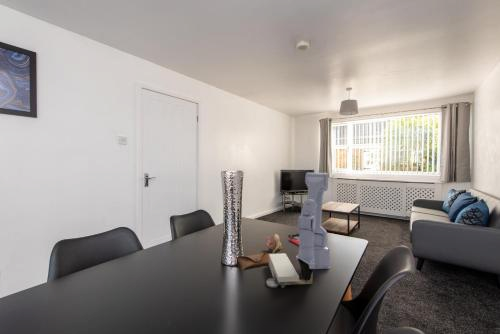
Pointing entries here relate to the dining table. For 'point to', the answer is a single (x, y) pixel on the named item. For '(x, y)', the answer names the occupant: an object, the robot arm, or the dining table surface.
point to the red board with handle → (295, 239)
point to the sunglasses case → (253, 261)
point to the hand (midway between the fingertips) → (306, 278)
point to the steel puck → (272, 282)
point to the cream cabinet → (282, 268)
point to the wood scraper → (297, 282)
